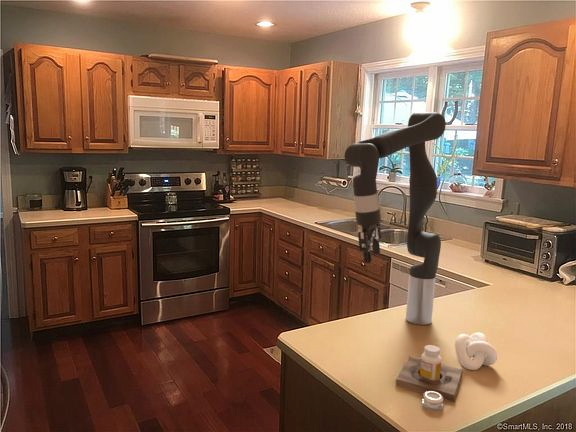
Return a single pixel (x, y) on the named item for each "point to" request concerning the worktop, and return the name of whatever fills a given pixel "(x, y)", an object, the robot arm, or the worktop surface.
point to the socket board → (415, 382)
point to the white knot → (474, 351)
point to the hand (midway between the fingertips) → (372, 258)
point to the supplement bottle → (430, 363)
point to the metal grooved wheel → (432, 401)
